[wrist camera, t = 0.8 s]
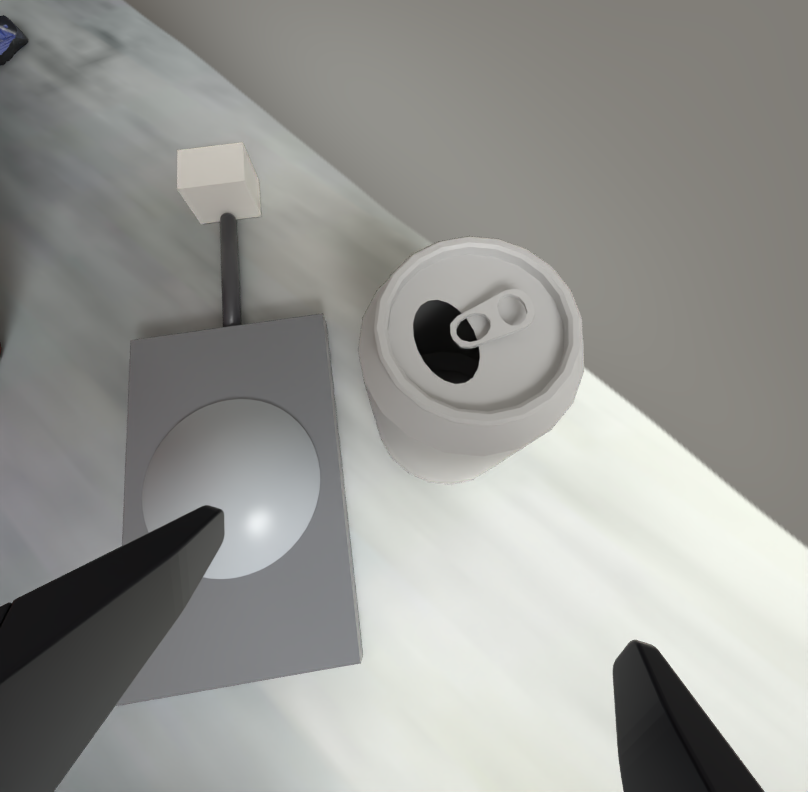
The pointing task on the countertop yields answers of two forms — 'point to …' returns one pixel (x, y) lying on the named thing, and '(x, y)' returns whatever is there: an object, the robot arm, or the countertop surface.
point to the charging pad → (242, 473)
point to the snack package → (9, 39)
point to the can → (469, 356)
